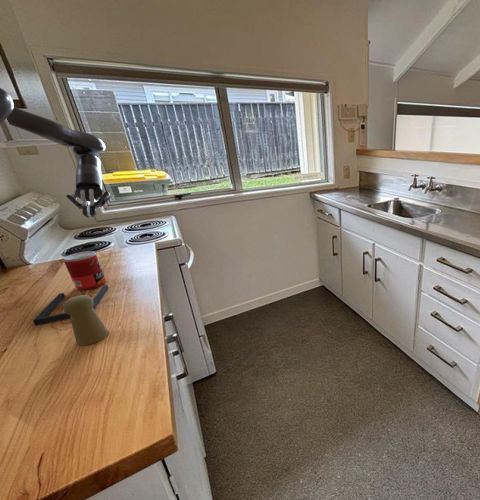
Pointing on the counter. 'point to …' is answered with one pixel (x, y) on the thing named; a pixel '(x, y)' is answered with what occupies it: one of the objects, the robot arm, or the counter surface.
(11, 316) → the counter surface
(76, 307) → the cork
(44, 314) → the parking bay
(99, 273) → the canned food
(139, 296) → the counter surface
